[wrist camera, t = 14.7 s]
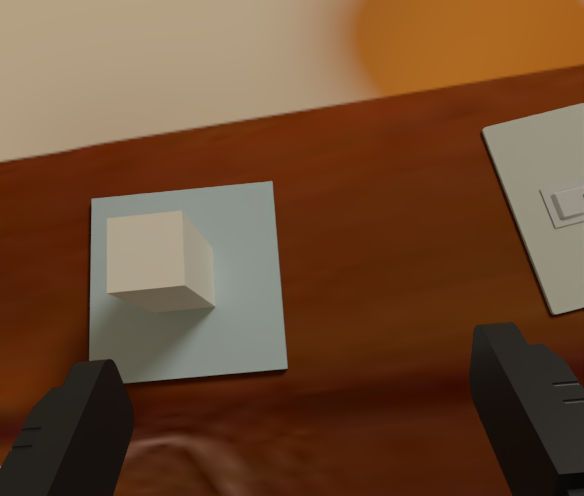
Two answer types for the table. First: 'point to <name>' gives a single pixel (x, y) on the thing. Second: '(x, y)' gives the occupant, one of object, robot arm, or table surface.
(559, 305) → the light switch
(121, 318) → the tile
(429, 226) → the table surface
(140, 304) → the beige block
